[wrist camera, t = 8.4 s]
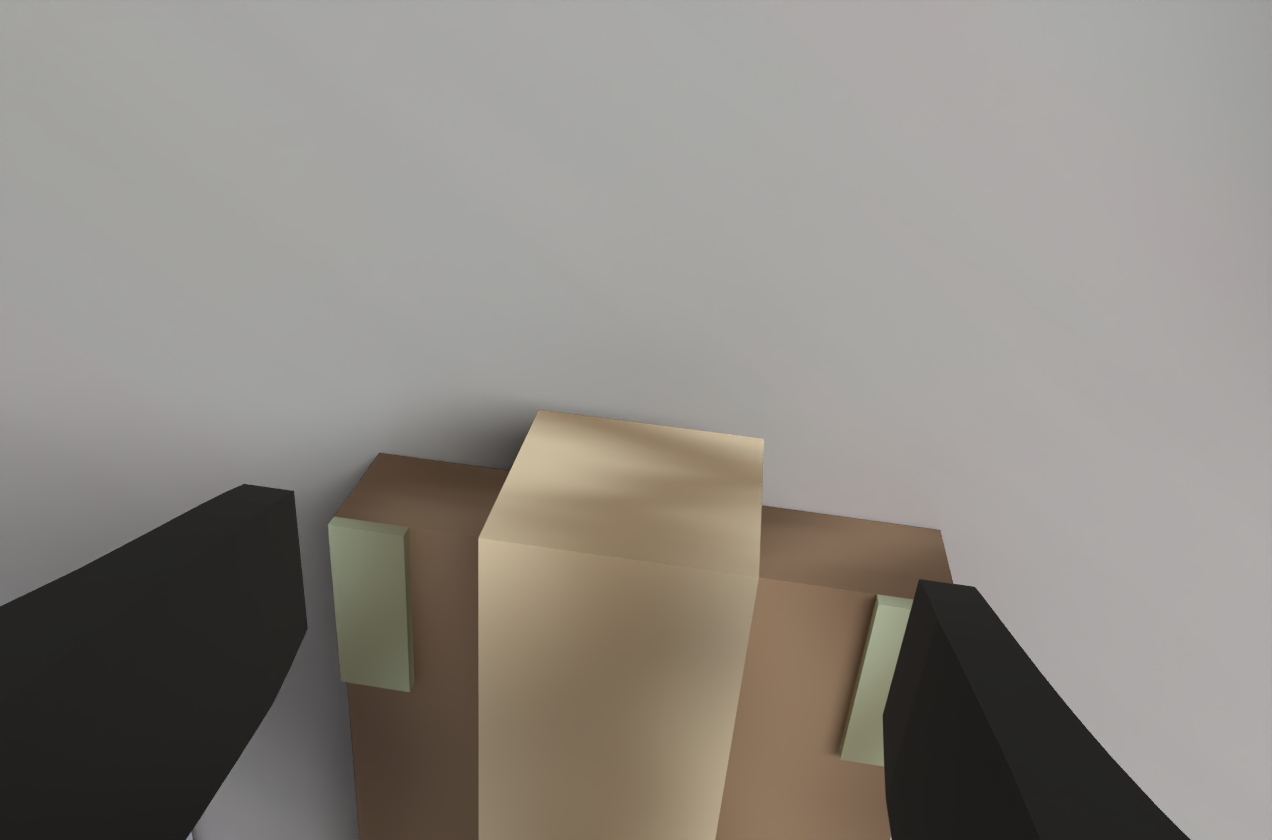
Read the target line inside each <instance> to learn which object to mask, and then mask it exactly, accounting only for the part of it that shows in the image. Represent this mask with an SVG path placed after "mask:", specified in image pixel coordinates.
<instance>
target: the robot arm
mask: <svg viewBox="0 0 1272 840" xmlns="http://www.w3.org/2000/svg"><path fill="white" fill-rule="evenodd" d="M307 629H308V628H307V618H306V608H305V598H304V588H303V578H302V568H301V558H300V548H299V538H298V528H297V518H296V508H295V498H294V491H290V490H283V489H275V488H268V487H261V486H254V485H247V484H243V485H241V486H238V487H236V488H234V489H232V490H229V491H227V492H225V493H223V494H221V495H219V496H217V497H215V498H213V499H211V500H209V501H207V502H205V503H203V504H201V505H199V506H197V507H195V508H193V509H192V510H190V511H188V512H186V513H184V514H182V515H180V516H178V517H176V518H175V519H173V520H171V521H169V522H167V523H165V524H163V525H161V526H160V527H158V528H156V529H154V530H152V531H150V532H148V533H146V534H144V535H143V536H141V537H139V538H137V539H135V540H133V541H131V542H129V543H127V544H125V545H124V546H122V547H120V548H118V549H116V550H114V551H112V552H110V553H108V554H106V555H104V556H103V557H101V558H99V559H97V560H95V561H93V562H91V563H89V564H87V565H85V566H83V567H81V568H79V569H78V570H76V571H73V572H71V573H69V574H67V575H65V576H63V577H61V578H59V579H57V580H55V581H53V582H51V583H48V584H46V585H44V586H42V587H40V588H38V589H36V590H34V591H32V592H30V593H28V594H26V595H23V596H21V597H19V598H17V599H15V600H13V601H11V602H9V603H7V604H5V605H3V606H1V607H0V840H193V837H192V832H191V831H192V830H193V828H194V827H195V825H196V823H197V822H198V820H199V819H200V817H201V816H202V814H203V813H204V811H205V810H206V808H207V806H208V805H209V803H210V802H211V800H212V799H213V797H214V796H215V794H216V792H217V791H218V789H219V788H220V786H221V785H222V783H223V782H224V780H225V779H226V777H227V775H228V774H229V772H230V771H231V769H232V768H233V766H234V765H235V763H236V761H237V760H238V758H239V757H240V755H241V754H242V752H243V750H244V749H245V747H246V746H247V744H248V742H249V741H250V739H251V738H252V736H253V735H254V733H255V731H256V730H257V728H258V727H259V725H260V724H261V722H262V720H263V719H264V717H265V715H266V714H267V712H268V711H269V709H270V707H271V706H272V704H273V702H274V700H275V698H276V696H277V694H278V692H279V690H280V688H281V686H282V684H283V682H284V679H285V677H286V675H287V673H288V671H289V669H290V667H291V665H292V662H293V660H294V658H295V656H296V653H297V651H298V649H299V647H300V644H301V642H302V640H303V638H304V635H305V633H306V631H307ZM883 748H884V774H885V794H886V805H887V811H888V818H889V824H890V830H891V837H892V840H1190V839H1189V838H1188V837H1187V836H1186V835H1185V834H1184V833H1183V832H1182V831H1181V830H1180V829H1179V828H1178V827H1177V826H1176V825H1175V824H1174V823H1173V822H1172V821H1171V820H1170V819H1169V818H1168V817H1167V816H1166V815H1165V814H1164V813H1163V812H1162V811H1161V810H1160V809H1159V808H1158V807H1157V806H1156V805H1155V804H1154V802H1153V801H1152V800H1151V799H1150V798H1149V797H1148V796H1147V795H1146V794H1145V793H1144V792H1143V791H1142V790H1141V788H1140V787H1139V786H1138V785H1137V784H1136V783H1135V782H1134V781H1133V780H1132V779H1131V778H1130V777H1129V775H1128V774H1127V773H1126V772H1125V771H1124V770H1123V769H1122V768H1121V767H1120V766H1119V765H1118V764H1117V762H1116V761H1115V760H1114V759H1113V758H1112V757H1111V756H1110V755H1109V754H1108V752H1107V751H1106V750H1105V749H1104V748H1103V747H1102V746H1101V744H1100V743H1099V742H1098V741H1097V740H1096V739H1095V738H1094V736H1093V735H1092V734H1091V733H1090V732H1089V731H1088V729H1087V728H1086V727H1085V726H1084V725H1083V724H1082V722H1081V721H1080V720H1079V719H1078V718H1077V716H1076V715H1075V714H1074V713H1073V712H1072V710H1071V709H1070V708H1069V707H1068V706H1067V704H1066V703H1065V702H1064V701H1063V699H1062V698H1061V697H1060V696H1059V695H1058V693H1057V692H1056V691H1055V690H1054V688H1053V687H1052V686H1051V685H1050V683H1049V682H1048V681H1047V680H1046V678H1045V677H1044V676H1043V675H1042V673H1041V672H1040V671H1039V670H1038V668H1037V667H1036V666H1035V664H1034V663H1033V662H1032V661H1031V659H1030V658H1029V657H1028V655H1027V654H1026V653H1025V652H1024V650H1023V649H1022V648H1021V646H1020V645H1019V644H1018V642H1017V641H1016V640H1015V638H1014V637H1013V636H1012V635H1011V633H1010V632H1009V631H1008V629H1007V628H1006V627H1005V625H1004V624H1003V623H1002V621H1001V620H1000V619H999V617H998V616H997V615H996V613H995V612H994V611H993V610H992V608H991V607H990V606H989V604H988V603H987V602H986V600H985V599H984V598H983V597H982V595H981V594H980V593H979V591H978V590H977V589H976V588H975V587H972V586H965V585H958V584H951V583H944V582H936V581H929V580H922V579H919V581H918V585H917V588H916V592H915V596H914V600H913V603H912V607H911V611H910V615H909V618H908V622H907V626H906V630H905V633H904V637H903V641H902V645H901V648H900V652H899V656H898V660H897V663H896V667H895V671H894V675H893V678H892V682H891V686H890V690H889V693H888V697H887V701H886V704H885V708H884V712H883Z"/></svg>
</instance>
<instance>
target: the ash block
mask: <svg viewBox="0 0 1272 840" xmlns="http://www.w3.org/2000/svg"><path fill="white" fill-rule="evenodd" d="M763 456H764V439H761V438H754V437H746V436H738V435H730V434H723V433H715V432H707V431H699V430H692V429H684V428H676V427H668V426H661V425H653V424H645V423H637V422H630V421H622V420H614V419H606V418H599V417H591V416H583V415H575V414H568V413H560V412H552V411H544V410H539V411H538V413H537V415H536V417H535V419H534V421H533V423H532V426H531V428H530V430H529V432H528V434H527V436H526V438H525V440H524V443H523V445H522V447H521V449H520V451H519V453H518V455H517V457H516V459H515V462H514V464H513V466H512V468H511V470H510V472H509V474H508V476H507V478H506V481H505V483H504V485H503V487H502V489H501V491H500V493H499V495H498V498H497V500H496V502H495V504H494V506H493V508H492V510H491V512H490V514H489V517H488V519H487V521H486V523H485V525H484V527H483V529H482V531H481V533H480V536H479V538H478V691H479V840H715V838H716V832H717V826H718V820H719V814H720V808H721V802H722V796H723V790H724V784H725V778H726V772H727V766H728V760H729V754H730V748H731V742H732V736H733V730H734V724H735V718H736V712H737V706H738V700H739V694H740V688H741V682H742V676H743V670H744V664H745V658H746V652H747V646H748V640H749V634H750V628H751V622H752V616H753V610H754V604H755V598H756V592H757V586H758V580H759V564H760V537H761V510H762V483H763Z"/></svg>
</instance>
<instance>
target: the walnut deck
mask: <svg viewBox="0 0 1272 840" xmlns="http://www.w3.org/2000/svg"><path fill="white" fill-rule="evenodd" d="M509 472H510V471H506V470H499V469H492V468H485V467H477V466H470V465H463V464H456V463H448V462H441V461H434V460H427V459H419V458H412V457H405V456H398V455H390V454H383V453H379V455H378V456H377V457H376V459H375V460H374V461H373V463H372V464H371V466H370V467H369V468H368V470H367V471H366V473H365V474H364V475H363V477H362V478H361V480H360V481H359V482H358V484H357V485H356V486H355V488H354V489H353V491H352V492H351V493H350V495H349V496H348V498H347V499H346V500H345V502H344V503H343V505H342V506H341V507H340V509H339V510H338V511H337V513H336V514H335V516H334V517H333V518H332V520H331V521H330V523H329V524H328V534H329V546H330V558H331V570H332V582H333V594H334V606H335V618H336V630H337V642H338V654H339V666H340V678H341V682H347V687H348V699H349V712H350V725H351V737H352V750H353V762H354V775H355V787H356V800H357V812H358V825H359V837H360V840H479V691H478V538H479V536H480V533H481V531H482V529H483V527H484V525H485V523H486V521H487V519H488V517H489V514H490V512H491V510H492V508H493V506H494V504H495V502H496V500H497V498H498V495H499V493H500V491H501V489H502V487H503V485H504V483H505V481H506V478H507V476H508V474H509ZM919 579H922V580H929V581H936V582H944V583H951V584H953V581H952V577H951V572H950V568H949V564H948V560H947V556H946V552H945V548H944V544H943V540H942V535H941V531H940V530H935V529H928V528H920V527H913V526H906V525H899V524H891V523H884V522H877V521H869V520H862V519H855V518H848V517H840V516H833V515H826V514H819V513H811V512H804V511H797V510H790V509H782V508H775V507H768V506H762V510H761V537H760V564H759V580H758V586H757V592H756V598H755V604H754V610H753V616H752V622H751V628H750V634H749V640H748V646H747V652H746V658H745V664H744V670H743V676H742V682H741V688H740V694H739V700H738V706H737V712H736V718H735V724H734V730H733V736H732V742H731V748H730V754H729V760H728V766H727V772H726V778H725V784H724V790H723V796H722V802H721V808H720V814H719V820H718V826H717V832H716V838H715V840H890V836H891V830H890V824H889V818H888V811H887V805H886V794H885V774H884V748H883V712H884V708H885V704H886V701H887V697H888V693H889V690H890V686H891V682H892V678H893V675H894V671H895V667H896V663H897V660H898V656H899V652H900V648H901V645H902V641H903V637H904V633H905V630H906V626H907V622H908V618H909V615H910V611H911V607H912V603H913V600H914V596H915V592H916V588H917V585H918V581H919Z"/></svg>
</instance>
